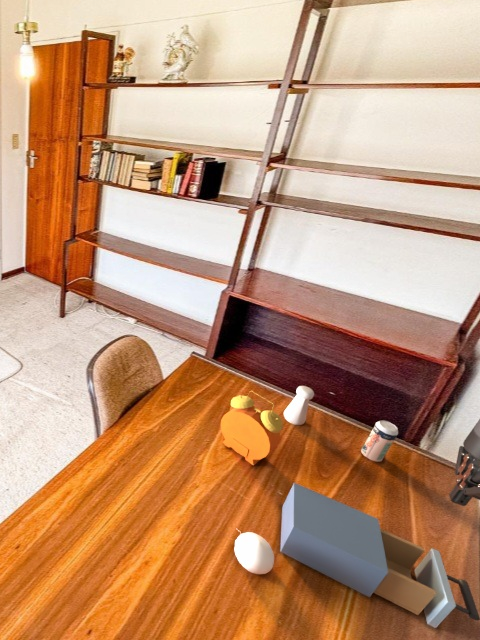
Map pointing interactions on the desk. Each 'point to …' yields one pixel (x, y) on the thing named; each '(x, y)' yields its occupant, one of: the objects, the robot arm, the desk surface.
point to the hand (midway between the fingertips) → (456, 500)
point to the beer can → (379, 440)
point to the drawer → (421, 582)
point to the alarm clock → (251, 429)
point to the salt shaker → (299, 406)
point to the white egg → (254, 553)
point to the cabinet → (333, 539)
